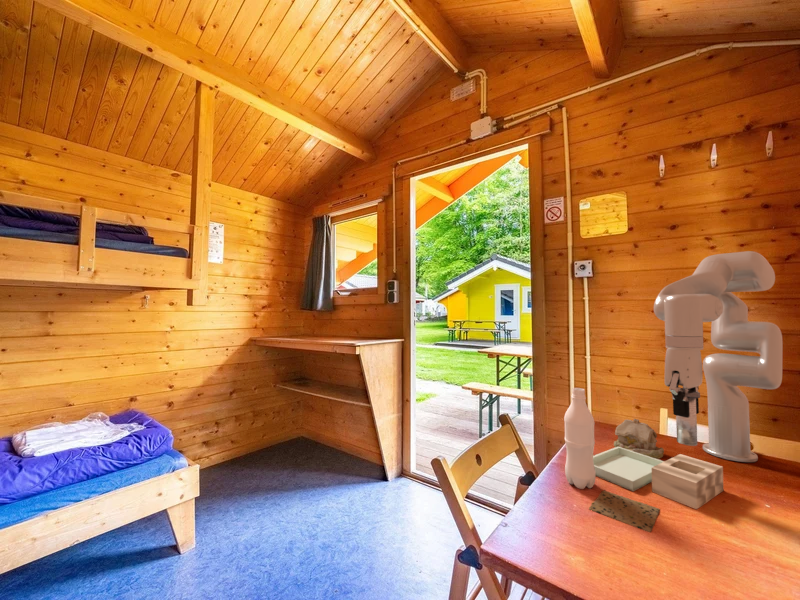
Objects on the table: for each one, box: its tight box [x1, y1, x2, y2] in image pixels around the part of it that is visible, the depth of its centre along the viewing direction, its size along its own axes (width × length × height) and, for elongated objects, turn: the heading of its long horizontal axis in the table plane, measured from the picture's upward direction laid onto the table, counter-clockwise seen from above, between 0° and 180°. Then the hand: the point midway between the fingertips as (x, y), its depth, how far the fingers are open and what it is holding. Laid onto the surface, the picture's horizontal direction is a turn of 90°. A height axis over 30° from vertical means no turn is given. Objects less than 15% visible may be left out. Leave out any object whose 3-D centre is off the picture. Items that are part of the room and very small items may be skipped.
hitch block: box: [651, 453, 724, 510], centre depth 87 cm, size 16×9×6 cm, turn 120°
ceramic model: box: [613, 418, 665, 460], centre depth 113 cm, size 14×11×10 cm
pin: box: [675, 390, 701, 447], centre depth 88 cm, size 6×6×13 cm
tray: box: [593, 446, 665, 492], centre depth 98 cm, size 20×14×2 cm
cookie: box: [588, 489, 661, 533], centre depth 80 cm, size 12×12×1 cm
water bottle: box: [563, 387, 597, 490], centre depth 91 cm, size 7×7×25 cm
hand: (686, 413), depth 88 cm, fingers closed on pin, 4 cm apart
